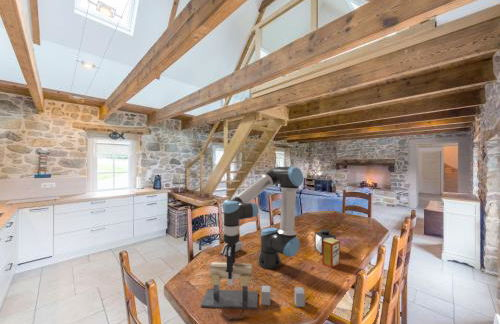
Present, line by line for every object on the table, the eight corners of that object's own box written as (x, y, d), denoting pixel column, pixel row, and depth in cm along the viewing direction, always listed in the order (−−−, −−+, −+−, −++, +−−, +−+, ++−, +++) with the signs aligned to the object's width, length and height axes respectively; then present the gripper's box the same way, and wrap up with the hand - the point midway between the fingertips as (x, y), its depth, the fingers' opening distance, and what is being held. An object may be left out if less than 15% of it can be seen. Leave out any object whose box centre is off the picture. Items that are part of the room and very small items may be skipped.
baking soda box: (331, 268, 133) (331, 243, 133) (322, 264, 138) (322, 240, 138) (339, 264, 138) (339, 240, 138) (330, 260, 143) (331, 237, 144)
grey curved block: (237, 247, 164) (240, 237, 162) (241, 251, 161) (244, 240, 159) (219, 253, 153) (222, 242, 151) (223, 258, 150) (226, 246, 147)
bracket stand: (207, 291, 108) (207, 264, 108) (257, 293, 106) (258, 266, 106) (200, 306, 96) (201, 277, 96) (257, 309, 94) (257, 279, 94)
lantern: (322, 255, 152) (322, 216, 153) (314, 249, 163) (314, 213, 164) (335, 254, 154) (336, 216, 155) (327, 248, 165) (327, 212, 166)
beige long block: (211, 273, 104) (211, 262, 104) (251, 275, 102) (251, 263, 102) (209, 277, 100) (209, 266, 100) (251, 279, 98) (251, 267, 99)
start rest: (261, 297, 102) (261, 285, 102) (302, 299, 101) (302, 287, 101) (261, 304, 97) (261, 291, 97) (304, 306, 96) (304, 293, 96)
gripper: (226, 228, 110) (226, 272, 110) (220, 239, 93) (219, 292, 93) (240, 228, 110) (240, 273, 109) (236, 240, 93) (236, 293, 92)
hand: (230, 281), depth 101 cm, fingers closed on beige long block, 4 cm apart
